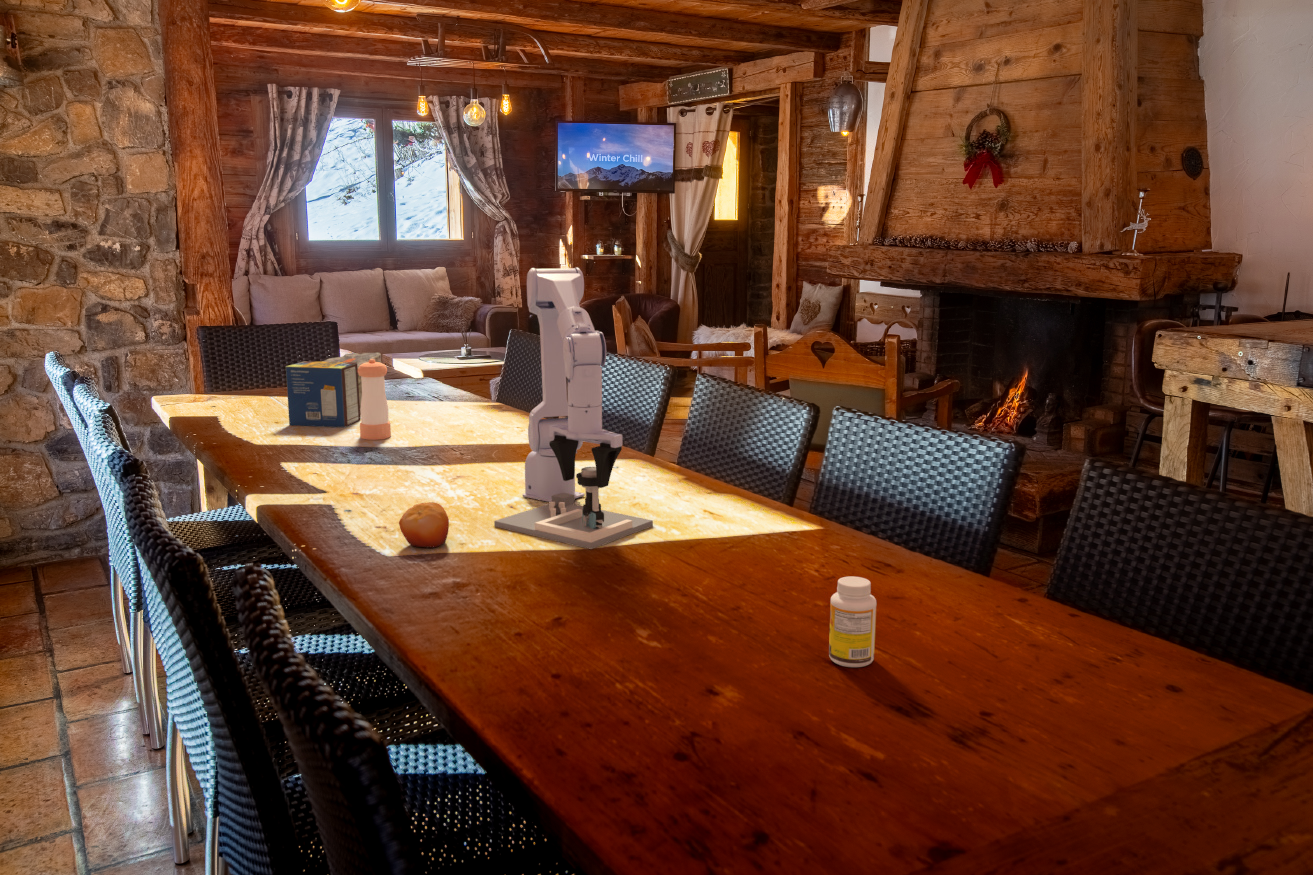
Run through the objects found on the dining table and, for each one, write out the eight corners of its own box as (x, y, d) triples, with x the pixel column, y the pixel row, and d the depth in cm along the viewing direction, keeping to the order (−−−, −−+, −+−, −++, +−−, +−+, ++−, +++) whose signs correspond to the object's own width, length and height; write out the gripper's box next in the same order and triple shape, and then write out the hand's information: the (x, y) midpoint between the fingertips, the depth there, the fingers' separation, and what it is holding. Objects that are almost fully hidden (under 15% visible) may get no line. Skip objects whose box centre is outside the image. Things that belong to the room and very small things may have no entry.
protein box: (306, 418, 290) (302, 360, 287) (361, 420, 288) (358, 362, 285) (288, 425, 280) (284, 366, 277) (344, 427, 278) (341, 367, 275)
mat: (494, 526, 191) (494, 520, 190) (558, 506, 204) (558, 500, 204) (591, 549, 178) (591, 543, 178) (652, 525, 191) (652, 520, 191)
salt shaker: (397, 436, 268) (393, 358, 264) (375, 441, 262) (371, 362, 258) (376, 432, 271) (372, 356, 268) (354, 437, 265) (349, 359, 262)
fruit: (464, 529, 184) (451, 495, 179) (445, 564, 178) (430, 530, 173) (422, 524, 186) (408, 491, 181) (402, 558, 181) (386, 525, 176)
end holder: (534, 529, 185) (534, 522, 185) (577, 515, 194) (577, 508, 194) (590, 542, 178) (590, 535, 178) (632, 527, 187) (632, 520, 187)
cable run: (542, 517, 193) (542, 508, 193) (554, 500, 204) (553, 492, 204) (565, 517, 193) (565, 508, 192) (575, 501, 204) (575, 492, 203)
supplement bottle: (843, 647, 138) (846, 570, 136) (882, 659, 134) (886, 580, 132) (819, 660, 134) (822, 581, 132) (859, 673, 130) (863, 592, 128)
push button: (616, 529, 186) (615, 472, 184) (587, 533, 183) (586, 475, 181) (599, 519, 191) (599, 464, 189) (572, 523, 189) (571, 467, 187)
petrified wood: (303, 410, 302) (299, 356, 299) (331, 400, 319) (328, 349, 316) (366, 412, 299) (363, 358, 296) (391, 402, 316) (389, 350, 313)
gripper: (536, 403, 183) (538, 481, 186) (603, 413, 175) (603, 494, 178) (564, 397, 189) (565, 473, 192) (630, 406, 180) (630, 486, 183)
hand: (585, 483), depth 185 cm, fingers open, 7 cm apart
